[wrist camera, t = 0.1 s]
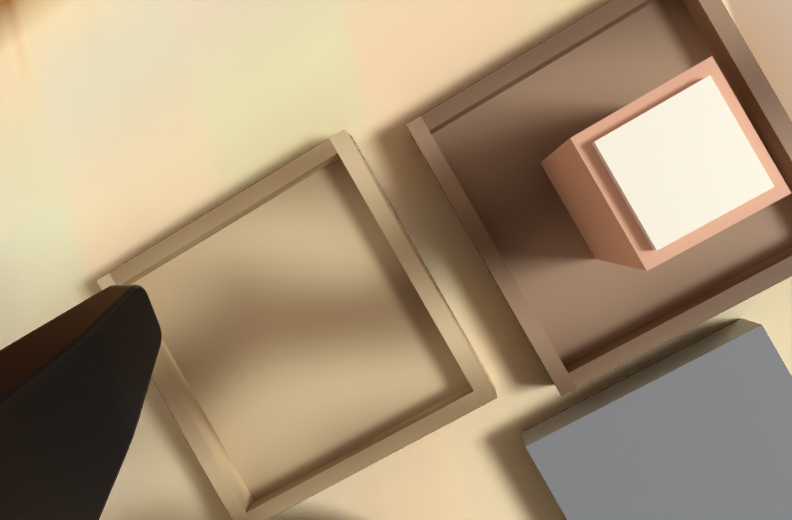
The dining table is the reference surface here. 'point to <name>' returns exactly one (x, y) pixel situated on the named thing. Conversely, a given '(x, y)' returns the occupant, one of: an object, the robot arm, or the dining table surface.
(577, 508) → the slate tile
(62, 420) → the robot arm
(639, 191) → the letter block
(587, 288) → the walnut tray
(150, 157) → the dining table surface
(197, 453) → the oak tray
